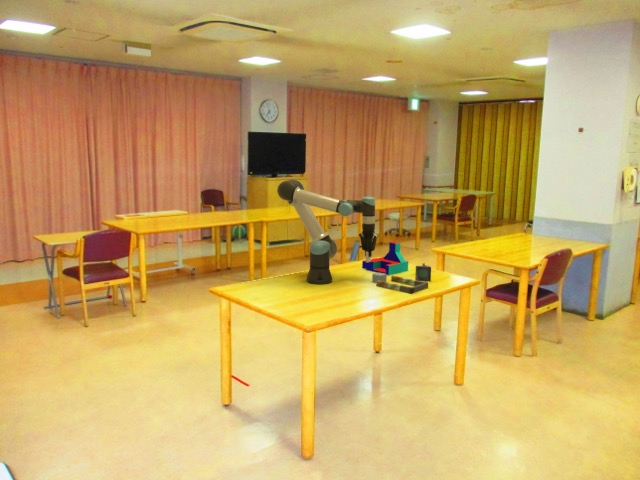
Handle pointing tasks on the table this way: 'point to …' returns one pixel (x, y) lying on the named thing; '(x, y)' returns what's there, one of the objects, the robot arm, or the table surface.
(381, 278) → the block
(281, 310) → the table surface
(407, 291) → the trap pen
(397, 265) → the building blocks toy
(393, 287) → the channel rails
